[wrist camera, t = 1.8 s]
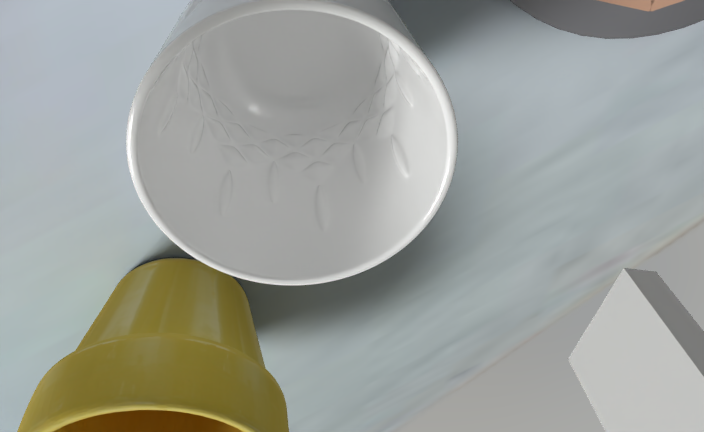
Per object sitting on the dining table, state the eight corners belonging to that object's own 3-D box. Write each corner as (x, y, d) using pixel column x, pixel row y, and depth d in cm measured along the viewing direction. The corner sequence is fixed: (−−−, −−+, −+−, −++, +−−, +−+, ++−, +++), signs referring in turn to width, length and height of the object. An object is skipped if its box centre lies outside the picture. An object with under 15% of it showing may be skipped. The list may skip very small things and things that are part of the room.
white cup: (422, -55, 21) (510, 45, 13) (363, 137, 25) (402, 302, 17) (195, -117, 19) (134, -45, 11) (173, 102, 24) (119, 267, 16)
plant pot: (318, 337, 32) (330, 515, 25) (150, 393, 34) (111, 578, 26) (230, 194, 26) (209, 369, 19) (30, 268, 28) (-69, 461, 20)
